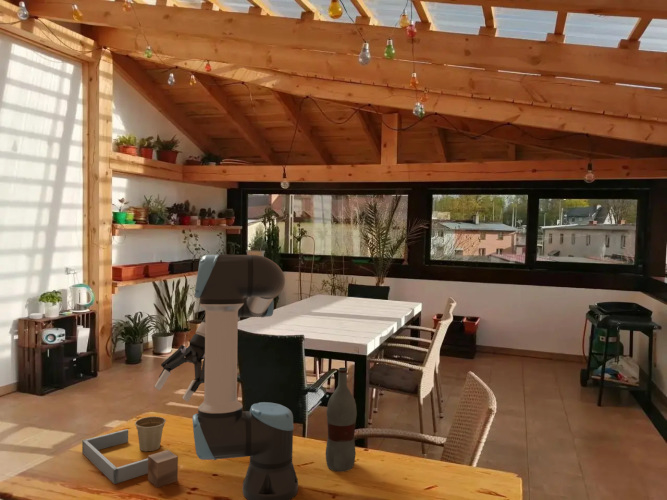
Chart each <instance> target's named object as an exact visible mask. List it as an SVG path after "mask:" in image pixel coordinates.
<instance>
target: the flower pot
mask: <svg viewBox="0 0 667 500" xmlns="http://www.w3.org/2000/svg"><path fill="white" fill-rule="evenodd" d="M166 422H167V420H166V418H164V417H161V416H153V415H152V416H145V417H142V418H140V419H136V420H135V422H134V425H135V426H136V430H137V437H138V445H139V450H141V452H150V451H151V452H154V451H157V450H158V449H160V447H161V443H162V437H163V435H162V434H163V430H164V427H165V424H166Z"/></svg>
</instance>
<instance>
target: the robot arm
mask: <svg viewBox="0 0 667 500" xmlns="http://www.w3.org/2000/svg"><path fill="white" fill-rule="evenodd" d="M285 283H286V278H285V275H284V272H283V270H282V269H281V267H280V265H279V264H277V263H276V262H274V261H273V260H271V259H269V258H268V257H266V256H262V255H258V254H220V253H217V254H205V255H203V256H202V257H201V258H200V259H199V263H198V270H197V276H196V281H195V290H194V298H195V299H199V305H200V306H201V308H202V309H203V310H205V311H204V312H205V316H204V318H203V320H202V321H201V322H200V324H199V325H198V327H197V328H196V331H195V334H192V335H193V336H192V337H191V339H190V340H189V345H188V346H187V347H186V346H185V345H184V344H181V345H180V346H179V347H178V348H177V350H175V352H173V353H172V354H170V356H168V357H167V358H166V359H165V360H164V361H163V362H162V363H161V364H160V366H161V367H162V368H163V369H162V371H161V373H160V374H159V376H158V380H157V381H156V383H155V384H154V388H155V389H157V390H159V391H161V390H162V389H163V387H164V385H165V383H166V382H167V380H168V378H170V375H171V371H173V370H174V369H176V368H178V367H180V366H181V365H183V364H185V363H189V364H193V365H194V378H193V379H192V380H191V382H190V384H189V385H188V387H187V389H186V390H185V392H184V394H183V396H182V397H181V398H182V399H183V400H184V401H186V402H188V403H189V401H190V399H191V398H192V396H193V395H194V394H195V393H196V392H197V390H198V388H199V387H200V385H201V384H204V392H203V393H204V394H203V398H204V399H203V401H202V403H201V404H200V405H199V406H198V408H197V413H195V414H193V415H192V428H193V439H194V440H193V441H194V446H195V447H194V448H195V452H196V453H195V454H196V456H197V458H198V459H199V460H203V461H204V460H206V461H207V460H213V461H217V460H222V459H223V460H224V459H235V458H236V459H237V458H245V457H246V458H248V457H249V463H248V464H249V465H248V467H247V471H246V474H245V478H244V479H243V482H242V495H243V496H244V498H246V499H247V500H292V499H293V498H295V496H297V494H298V491H299V480H298V476H297V474H296V473H297V472H296V470H295V466H294V463H293V449H294V448H293V444H294V443H293V442H294V441H293V440H294V428H295V427H294V415H293V412H292V410H291V409H289V408H288V407H286V406H284V405H282V404H280V403H274V402H267V401H266V402H265V401H263V402H262V401H261V402H257V403H253V404H251V406H250V409H249V410H246V411H245V410H243V404H242V403H241V402H240V401H239V400H238V398H237V397H238V340H239V339H238V334H239V333H238V330H239V328H238V327H239V326H238V325H239V323H238V322H239V318H267V317H269V318H270V317H271V316H273V315H274V307H275V306H274V305H275V301H274V299H275V298H277V297H278V296H279V295H280V294H281V293H282V292H283V290H284V287H285Z"/></svg>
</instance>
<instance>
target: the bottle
mask: <svg viewBox="0 0 667 500" xmlns="http://www.w3.org/2000/svg"><path fill="white" fill-rule="evenodd" d="M337 369H338V381H337V387H336V388H335V390H334V392H333V393H332V394H331V396H330V397H329V398H328V402H327V408H326V420H327V421H326V422H327V441H326V447H325V461H326V466H327V468H328V469H329V470H331V471H333V472H340V473H341V472H348V471H351V470H353V467H354V466H355V460H356V455H357V454H356V453H357V452H356V443H355V433H356V432H355V430H356V422H357V416H358V413H357V410H358V409H357V403H356V399H355V398H354V396H353V394H352V393H351V391H350V389H349V388H348V386H347V385H348V383H347V382H348V381H347V380H348V368H347V367H339V368H337Z"/></svg>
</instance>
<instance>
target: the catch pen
mask: <svg viewBox="0 0 667 500" xmlns="http://www.w3.org/2000/svg"><path fill="white" fill-rule="evenodd" d="M128 442H129V429H128V428H126V429H122V430H121V429H120V430H118V431H114V432H110V433H107V434H101V435H98V436H95V437H90V438H86V439H83V440H82V443H81V445H82V449H81V450H82V451H81V452H82V454H83V455H84V456H85V457H86V458H87V459H88V460H89V461H90V462H91V463H92V464H93V465H94V466H95V467H96V468H97V469H98V470H99V471H100V472H101V473H102V474H103V475H104V476H105V477H106V478H108V480H109V481H110V482H111V483H112V484H113V485H115V484H116V485H117V484H119V483H122V482H125V481H128V480H131V479H135V478H137V477H140V476H144V475H148V457H147V458H144V459H141V460H138V461H134V462H131V463H127V464H124V465H121V466H118V467H116V466H115V464H113V463H112V462H111V461H110V460H109V459H108V458H107V457H106V456H104V455H103V453H101V452H100V450H102V449H107V448H111V447H114V446H118V445H122V444H125V443H128Z"/></svg>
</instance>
